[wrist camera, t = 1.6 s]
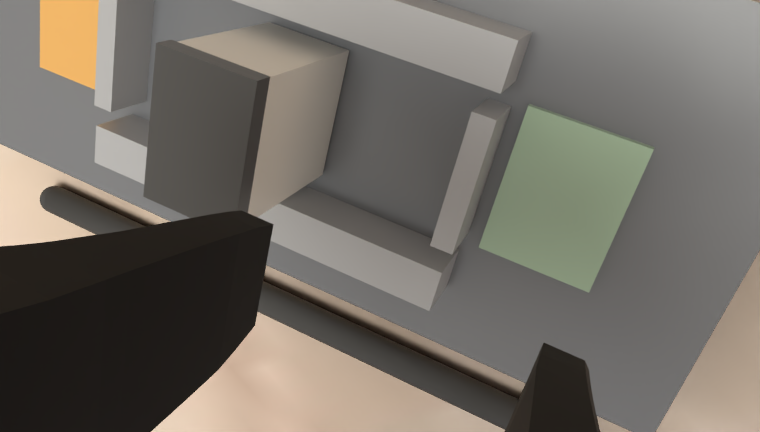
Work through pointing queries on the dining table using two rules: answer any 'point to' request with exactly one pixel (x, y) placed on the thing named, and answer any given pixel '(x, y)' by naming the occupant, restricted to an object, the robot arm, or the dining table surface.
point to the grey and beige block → (240, 118)
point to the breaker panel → (466, 164)
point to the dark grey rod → (324, 325)
